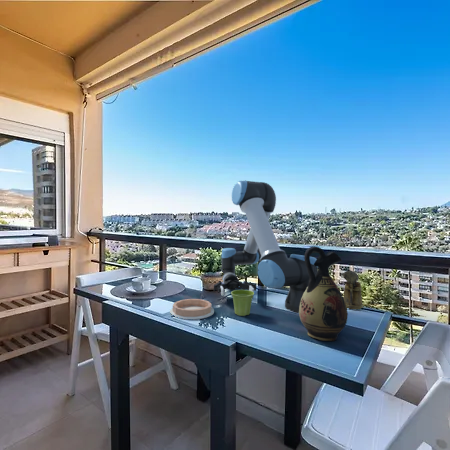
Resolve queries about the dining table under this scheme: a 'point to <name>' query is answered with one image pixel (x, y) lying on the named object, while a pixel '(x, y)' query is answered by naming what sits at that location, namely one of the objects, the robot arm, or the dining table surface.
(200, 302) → the ring collar
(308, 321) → the ceramic jug
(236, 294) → the plant pot
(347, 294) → the stone figurine
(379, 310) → the dining table surface
